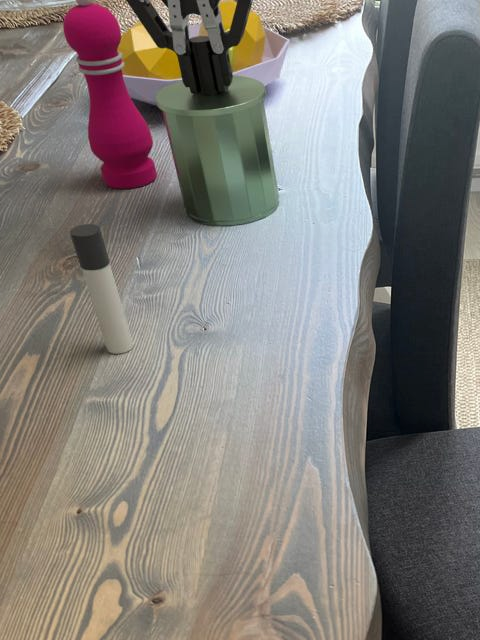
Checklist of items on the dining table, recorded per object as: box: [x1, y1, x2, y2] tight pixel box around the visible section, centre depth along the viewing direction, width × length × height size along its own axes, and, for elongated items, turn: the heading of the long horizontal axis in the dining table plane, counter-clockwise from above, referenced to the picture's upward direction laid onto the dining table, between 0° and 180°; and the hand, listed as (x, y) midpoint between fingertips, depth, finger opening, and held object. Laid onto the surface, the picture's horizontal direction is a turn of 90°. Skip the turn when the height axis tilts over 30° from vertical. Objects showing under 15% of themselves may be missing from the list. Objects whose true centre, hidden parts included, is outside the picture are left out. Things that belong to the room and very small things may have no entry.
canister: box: [161, 99, 280, 227], centre depth 112 cm, size 11×11×12 cm
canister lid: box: [155, 36, 267, 116], centre depth 106 cm, size 12×12×6 cm
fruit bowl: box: [117, 0, 291, 107], centre depth 139 cm, size 28×27×11 cm
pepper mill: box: [62, 0, 158, 190], centre depth 115 cm, size 7×7×20 cm
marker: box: [69, 223, 134, 355], centre depth 89 cm, size 2×2×11 cm
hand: (209, 89), depth 107 cm, fingers closed on canister lid, 2 cm apart
